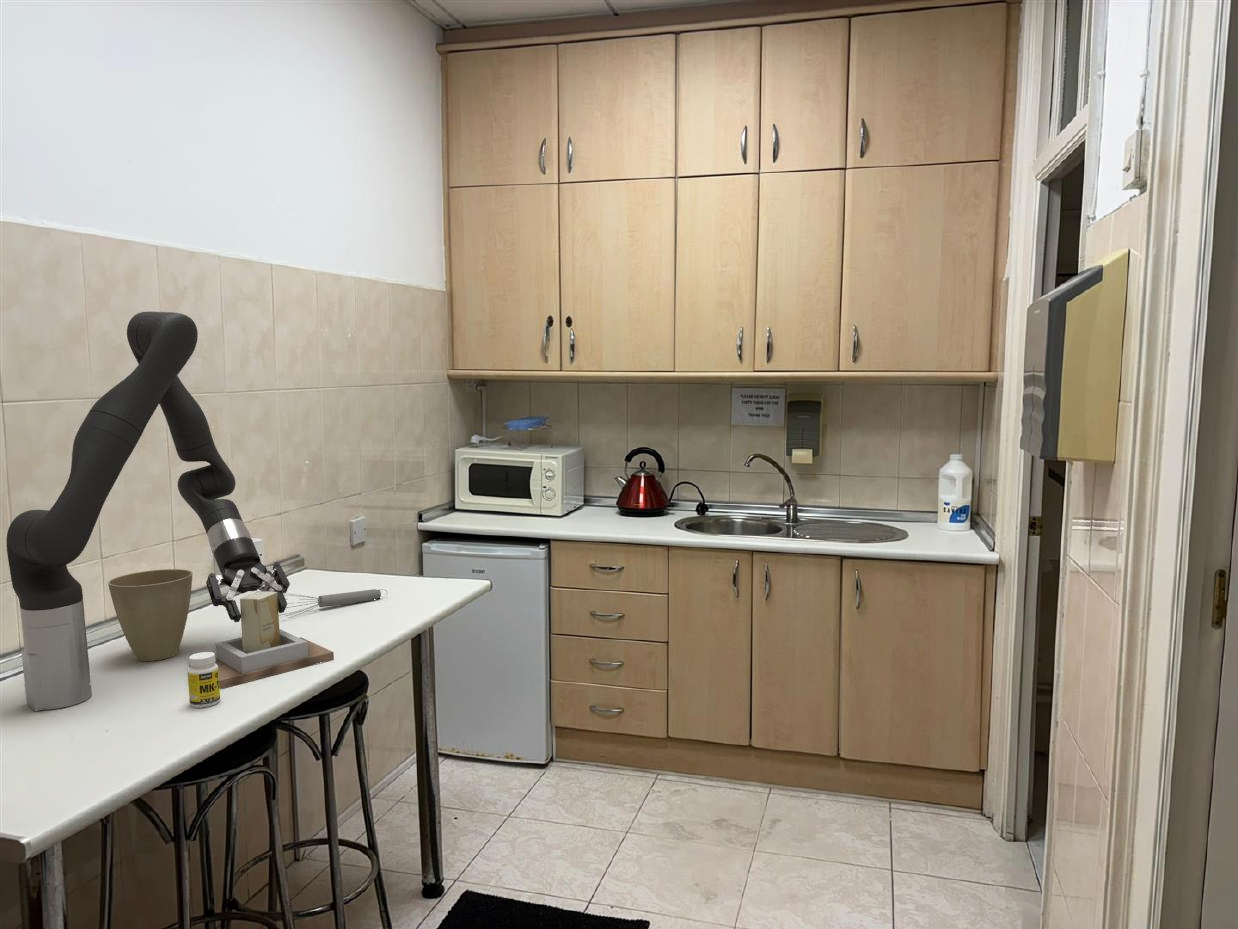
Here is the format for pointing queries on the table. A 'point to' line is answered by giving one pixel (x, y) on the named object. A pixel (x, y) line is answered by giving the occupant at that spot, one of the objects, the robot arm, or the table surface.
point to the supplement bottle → (203, 680)
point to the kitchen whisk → (339, 599)
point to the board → (234, 677)
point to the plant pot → (152, 610)
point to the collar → (261, 653)
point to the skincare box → (260, 621)
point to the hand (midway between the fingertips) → (261, 615)
